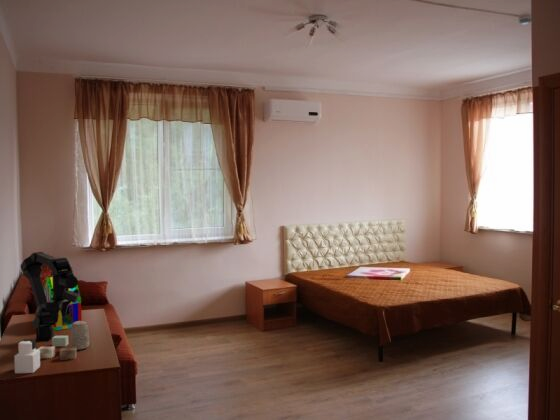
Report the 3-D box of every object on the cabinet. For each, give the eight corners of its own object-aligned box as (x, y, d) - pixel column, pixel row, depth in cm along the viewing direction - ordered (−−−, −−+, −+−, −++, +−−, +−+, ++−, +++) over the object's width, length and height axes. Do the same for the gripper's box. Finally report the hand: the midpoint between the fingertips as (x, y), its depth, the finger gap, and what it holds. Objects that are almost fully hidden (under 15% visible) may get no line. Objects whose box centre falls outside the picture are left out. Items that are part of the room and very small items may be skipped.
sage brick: (52, 346, 227) (51, 338, 227) (55, 344, 231) (55, 335, 231) (65, 346, 228) (65, 337, 227) (68, 344, 231) (68, 335, 231)
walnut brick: (59, 360, 210) (59, 351, 210) (61, 357, 214) (61, 348, 214) (75, 359, 212) (75, 350, 211) (76, 356, 215) (76, 347, 215)
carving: (71, 347, 226) (70, 321, 225) (89, 345, 229) (88, 319, 228) (71, 351, 220) (70, 324, 220) (89, 349, 223) (89, 323, 223)
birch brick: (37, 358, 212) (37, 349, 212) (41, 355, 216) (40, 346, 216) (51, 358, 213) (51, 349, 212) (55, 355, 216) (55, 346, 216)
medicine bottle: (22, 367, 203) (21, 337, 202) (40, 366, 203) (39, 337, 202) (14, 373, 195) (13, 343, 195) (33, 373, 196) (32, 343, 195)
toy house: (81, 326, 259) (80, 278, 257) (53, 330, 251) (52, 281, 249) (70, 315, 278) (69, 271, 277) (43, 319, 271) (42, 273, 269)
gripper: (70, 290, 219) (70, 325, 220) (84, 281, 237) (85, 313, 238) (43, 290, 218) (44, 325, 219) (60, 281, 237) (61, 314, 238)
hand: (60, 319), depth 229 cm, fingers open, 9 cm apart
